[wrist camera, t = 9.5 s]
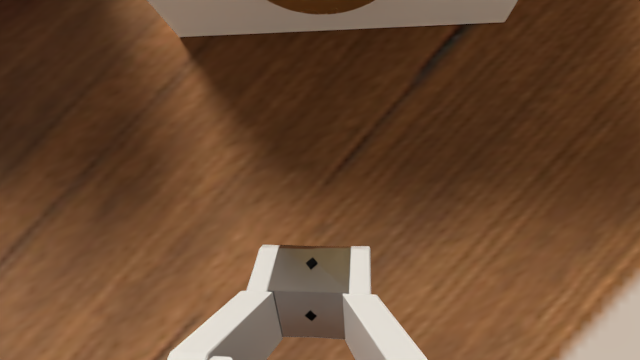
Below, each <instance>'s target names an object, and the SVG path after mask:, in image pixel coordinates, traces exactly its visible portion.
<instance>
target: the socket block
mask: <svg viewBox="0 0 640 360" xmlns="http://www.w3.org/2000/svg"><path fill="white" fill-rule="evenodd" d="M147 1H148V2H149V3H150V4H151V5H152V6H153V8H154V9H155V10H156V11H157V12H158V13H159V15H160V16H161V17H162V18H163V19H164V20H165V21H166V23H167V24H168V25H169V26H170V27H171V28H172V29H173V31H174V32H175V33H176V34H177V35H178V36H179V37H193V36H215V35H237V34H259V33H281V32H303V31H324V30H346V29H368V28H390V27H412V26H434V25H455V24H477V23H499V22H505V21H506V19H507V18H508V16H509V14H510V13H511V11H512V10H513V8H514V6H515V5H516V3H517V1H518V0H374V1H373V2H371V3H369V4H367V5H365V6H363V7H360V8H357V9H355V10H351V11H347V12H343V13H337V14H319V15H318V14H306V13H300V12H296V11H291V10H288V9H285V8H282V7H280V6H277V5H275V4H273V3H271V2H269V1H267V0H147Z"/></svg>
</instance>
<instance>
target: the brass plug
mask: <svg viewBox="0 0 640 360" xmlns="http://www.w3.org/2000/svg"><path fill="white" fill-rule="evenodd" d="M267 1H269V2H271V3H273V4H275V5H277V6H280V7H282V8H285V9H288V10H291V11H296V12H300V13H306V14H318V15H319V14H337V13H343V12H347V11H351V10H355V9H357V8H360V7H363V6H365V5H367V4H369V3H371V2H373V1H374V0H267Z"/></svg>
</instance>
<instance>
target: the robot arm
mask: <svg viewBox="0 0 640 360" xmlns="http://www.w3.org/2000/svg"><path fill="white" fill-rule="evenodd" d="M282 337H318V338H332V339H345V341H346V343H347V345H348V347H349V348H350V350H351V352H352V354H353V356H354V358H355V360H428V359H427V358H426V357H425V356H424V354H423V353H422V352H421V350H420V349H419V348H418V347H417V345H416V344H415V343H414V342H413V340H412V339H411V338H410V336H409V335H408V334H407V333H406V331H405V330H404V329H403V328H402V326H401V325H400V324H399V322H398V321H397V320H396V319H395V317H394V316H393V315H392V314H391V312H390V311H389V310H388V308H387V307H386V306H385V305H384V303H383V302H382V301H381V300H380V298H379V297H378V296H377V295H371V257H370V247H369V246H295V245H262V246H261V248H260V249H259V252H258V255H257V258H256V262H255V265H254V268H253V271H252V274H251V277H250V281H249V284H248V287H247V290H246V291H240V292H239V293H238V294H237V295H236V296H234V297H233V298H232V299H231V300H230V301H229V302H228V303H226V304H225V305H224V306H223V307H222V308H221V309H219V310H218V311H217V312H216V313H215V314H214V315H213V316H211V317H210V318H209V319H208V320H207V321H206V322H205V323H203V324H202V325H201V326H200V327H199V328H198V329H196V330H195V331H194V332H193V333H192V334H191V335H190V336H188V337H187V338H186V339H185V340H184V341H183V342H181V343H180V344H179V345H178V346H177V347H176V348H175V349H173V350H172V351H171V352H170V354H169V356H168V359H167V360H266V359H267V358H268V357H269V355H270V354H271V353H272V352H273V350H274V349H275V348H276V346H277V345H278V344H279V343H280V341H281V340H282V339H283V338H282Z"/></svg>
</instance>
